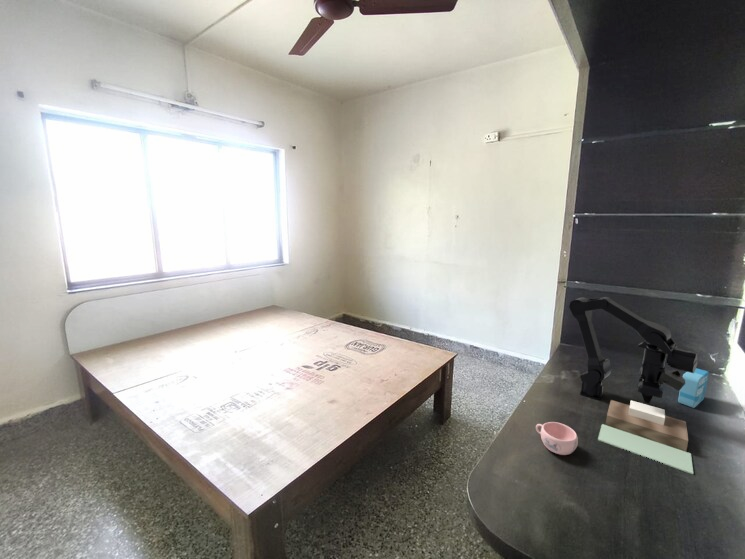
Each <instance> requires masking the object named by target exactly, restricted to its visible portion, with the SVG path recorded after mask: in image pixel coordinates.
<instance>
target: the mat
mask: <svg viewBox="0 0 745 559" xmlns="http://www.w3.org/2000/svg"><path fill="white" fill-rule="evenodd" d="M597 441H598V442H600V443H605V444H608V445H611V446H612V447H614V448H615V447H616V448H619V449H621V450H623V449H624V450H623V451H626V450H627V451H626V452H629V451H630V453H632V454H635V455H637V456H640V455H641V457H643V458H646V457H647V458H646V459H648V458H649V460H651V459H652V460H651V461H654V460H655V462H657V461H658V462H657V463H659V462H660V463H659V464H662V463H663V464H662V465H664V466H665V465H666V466H668V467H671V468H673V469H676V470H678V471H679V470H680V471H682V472H685V473H687V474H691V475H694V467H693V458H692V453H690V452H687V451H686V452H685V451H682V450H679V449H676V448H673V447H670V446H667V445H664V444H661V443H658V442H655V441H652V440H649V439H646V438H643V437H640V436H637V435H634V434H631V433H628V432H625V431H622V430H619V429H616V428H613V427H610V426H607V425H606V424H604V423H602V424H601V425H600V430H599V432H598V437H597Z"/></svg>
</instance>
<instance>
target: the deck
mask: <svg viewBox="0 0 745 559" xmlns="http://www.w3.org/2000/svg"><path fill="white" fill-rule="evenodd" d="M629 408H630V404H626V403H623V402H619V401H616V400H613V399H610V402H609V406H608V410H607V414H606V420H605V425H607V426H610V427H613V428H616V429H619V430H622V431H625V432H628V433H631V434H634V435H637V436H640V437H643V438H646V439H649V440H652V441H655V442H658V443H661V444H664V445H667V446H670V447H673V448H676V449H679V450H682V451H685V452H687V451H688V450H687V449H688V445H689V444H688V443H689V435H688V429H687V421H685V420H682V419H677V418H674V417H671V416H667V415H665V421H664V425H661V424H658V423H655V422H651V421H648V420H645V419H641V418H638V417H635V416H632V415H628V414H629Z"/></svg>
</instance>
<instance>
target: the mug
mask: <svg viewBox="0 0 745 559" xmlns="http://www.w3.org/2000/svg"><path fill="white" fill-rule="evenodd" d="M539 428H540V429H539ZM535 431H536V432H537V434H539V435H540V437H541V441H542V443H543V445H544V446H545V448H546V449H548V450H549V451H550V452H551V453H553V454H554V453H555V454H556V455H559V456H567V455H571V454H573V453H574V452H575V450H576V449H577V447H578V442H579V438H578V435H577V433H576V431H575V430H574V429H573V428H571V427H570V426H569V425H567V424H564V423H562V422H561V423H560V422H558V421H557V422H556V421H549V422H545V423H543V424H542V423H537V424H536V425H535Z"/></svg>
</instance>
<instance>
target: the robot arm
mask: <svg viewBox="0 0 745 559" xmlns="http://www.w3.org/2000/svg"><path fill="white" fill-rule="evenodd" d="M568 309H569V311H570V313H571V315H572V317H573V318H574V319H575V320H576V321H577V324H578V327H579V331H580V334H581V338H582V341H583V345H584V349H585V351H586V352H585V353H586V354H587V360H586V361H587V364H586V368H587V370H586V371H585V372H583V373H582V374H580V376H579V378H580V381H581V387H580V388H581V389H580V391H579V395H581V396H584V397H588V398H591V399H594V400H597V401H600V398H602V397H603V391H604V384H603V381H604V380H605V379H606V378H607V377H609V376H610V375H611V373H612V370H613V368H612V366H611V361H610V358H605V357H604V355H602V351H601V348H600V345H599V341H598V338H597V334H596V331H595V328H594V324H593V320H592V319H593V318H592V316H593V311H594V310H602V311H605V312H606V313H608V314H610V315H611V316H613V317H615V318H616V319H618V320H619V321H621V322H622V323H624V324H626V325H628V326H629V327H630V328H632V329H633V330H635V331H636V332H637V334H638V335H639V336H640V337H641V338H642V339H643V340H644V341H642V342H639V344H637V347H638V348H641V349H644V351H643V358H642V364H641V366H640V369H639V375H640V378H639V379H638V386H637V392H638V393H641V395H642V396H641V397H642V398H643V402H644V404H647V405H649V404H650V402H652V401H651V400H652V399H653V398H654V397H656V398H661V399H662V398H663V395H664V394H663V393H664V391H663V390H664V388H663V387H662V385H664V384H665V385H668V386H669V387H671V388H674V389H675V390H676V391H678V392H680V389H681V388H682V387H683V386H684V385H685V379H684V378H683V376H681V371H683V372H685V373H686V372H690V373H694V372H695V370H696V368H697V367H698V363H699V360H698V352H696V351H692V350H685V349H682V348H678V344H677V343H676V341H674V339H673V338H672V333H671V330H670V329H669V328H668V327H666V326H664V325H661V324H659V323H657V322H654V321H651V320H647V319H644V318H643V317H641V316H640V315H638V314H636V313H635V312H632V311H631V310H629V309H628V308H625V307H624V306H622V305H621V304H619V303H617V302H616V301H614V300H613V299H611V298H610V297H608V296H603V297H594V298H587V297H579V298H576V299H573V300H571V301H570V302H569V304H568ZM665 364H667V366H669V367H670V368H672V369H673V370H667V369H666V365H665ZM679 370H680V371H679Z"/></svg>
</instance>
